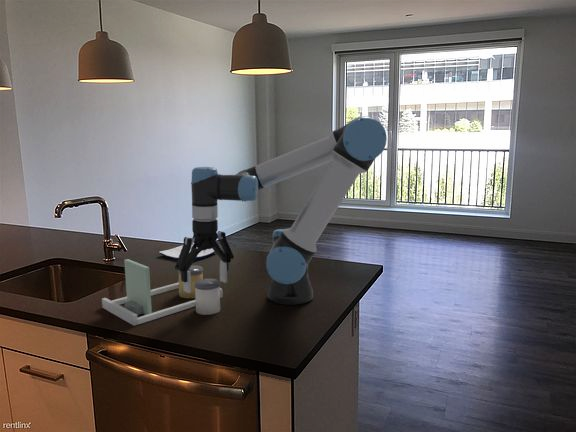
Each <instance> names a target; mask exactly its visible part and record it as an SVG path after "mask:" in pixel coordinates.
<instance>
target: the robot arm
mask: <svg viewBox="0 0 576 432" xmlns="http://www.w3.org/2000/svg"><path fill="white" fill-rule="evenodd" d="M387 138H388V137H387V131H386V129H385V127H384V125H383V123H381V122H380V121H379V120H378V119H376V118H374V117H372V116H368V115H367V116H366V115H364V116H358V117H355V118H354V119H352V120H350V121H349V122H348V123H346V124H344V125H343V126H340V127H339V128H337V129H335V130H332V131H331V132H330V134H329V135H328V136H326V137H324V138H321V139H318V140H317V141H314V142H311V143H308V144H305V145H303V146H301V147H299V148H297V149H294V150H291V151H289V152H287V153H283V154H281V155H279V156H276V157H274V158H272V159H269V160H267V161H264V162H262V163H259V164H257V165H255V166H253V167H252V166H251V167H250V168H247V169H243V170H240V171H238V172H237V173H236V174H219V173H218V169H217V168H216V167H213V166H212V167H211V166H199V167H194V168H193V169H192V170H191V182H190V184H191V215H192V216H191V217H192V221H191V222H192V223H191V225H192V227H191V228H192V233H193V236H192V237H187V236H185V237H184V238H183V244H182V245H183V247H182V250H181V252H180V255H179V258H178V260H177V261H176V264H175V266H174V270H176V271H178V270H179V271H181V280H182V282H183V285H184V291H185V292H187V293H191V272H190V271H188V270H189V268H190V267H191V265H193V263H194V262H195V261H196V260H195V259H196V257H197V255H198V254H199V253H200V252H201V251H202V250H206V249H213V250H214V251H215V253H216V255H217V256H218V257H219V258H220V259H221V260H220V261H219V281H220V283H224V284H226V283H228V272H229V263H231V261H232V260H234V258H235V256H234V253H233V252H232V250H231V247H230V245H229V242H228V240H227V236H226V232H225V231H220V230H219V231H218V228H219V225H218V224H219V223H218V216H219V213H218V211H219V210H218V209H219V208H218V201H237V202H238V201H239V202H252V201H253V202H254V201H256V200H257V198H258V194H259V190H262V189H264V188H266V187H270V186H272V185H275V184H277V183H280V182H283V181H285V180H287V179H291V178H293V177H295V176H298V175H300V174H302V173H305V172H308V171H310V170H313V169H317V168H319V167H321V166H324V165H325V164H329V165H328V167H327V169H326V170H325V171H324V173H323V175H322V177H321V178H320V180H319V181H318V183H317V184H316V186H315V188H314V189H313V191H312V193H311V194H310V195H309V198H308V199H307V201H306V202H305V204H304V206H303V207H302V209H300V212H299V214H297V217H296V219H295V220H294V222H293V223H292V225H291V227H289V228H280V229H279V228H278V229H275V230H274V231H273V232H272V236H271V239H272V247H271V249H270V251H269V253H268V254H267V255H266V258H265V265H266V266H265V267H266V271H267V274H268V275H269V276H270V278H271V280H270V283H269V287H268V289H267V298H268V300H270V301H271V302H273V303H274V304H278V305H279V304H280V305H285V306H286V305H287V306H290V305H291V306H294V305H302V304H306V303H308V302H310V301H312V300H313V299H314V289H313V287H312V284H311V280H310V277H309V263H310V262H311V260H312V259H313V257H314V256H315V254H316V252H317V249H318V248H317V241H318V240H319V238H320V237H321V235H322V233H323V232H324V230H325V229H326V227H327V225H328V224H329V223H330V221H331V219H332V218H333V216H334V215H335V213H336V211H337V209H338V208H339V206H340V205H341V203H342V202H343V200H345V199H344V198H345V197H346V196H347V194H348V192H349V191H350V189H351V187H352V186H353V184H354V183H355V181H356V180H357V178H358V176H359V175H360V174H365V173H367V172H368V171H369V169H370V168H371V166H372V164H373V163H374V161H375V160H376V159H377V158H378V157H380V155H381V154H382V153H383V152H384V149H385V148H386V144H387V140H388V139H387ZM217 240H218V242H219V244H218V242H217ZM192 245H193V246H192ZM191 246H192V248H191ZM220 246H221V247H220ZM190 249H191V251H190ZM189 252H190V253H189Z"/></svg>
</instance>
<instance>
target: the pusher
mask: <svg viewBox="0 0 576 432" xmlns="http://www.w3.org/2000/svg"><path fill="white" fill-rule="evenodd" d="M123 262H124V274H125V275H124V277H125V290H126V291H125V292H126V297H127V302H124V308H126V309H128V310H129V311H131V312H133V313H135V314H137V316H139V315H142V314H144V315H147V314H151V313H153V311H152V310H153V309H152V296H151V290H152V289H151V276H150V275H151V272H150V267H149V266H147V265H144V264H142V263H139V262H137V261H134V260H131V259H129V258H127V259H124V261H123Z"/></svg>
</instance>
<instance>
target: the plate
mask: <svg viewBox="0 0 576 432" xmlns="http://www.w3.org/2000/svg"><path fill="white" fill-rule="evenodd" d="M192 246H193V245H192ZM192 246H191V248H192ZM182 247H183V244H182V245H180V246H177V247H173V248H170V249H167V250H166V249H165V250H162V251H159V252H158V253H159V254H160V255H161V256H164V257H166V258H170V259H173V260H178V258H179V255H180V252H181V250H182ZM190 251H191V249H190ZM189 253H190V252H189ZM215 253H216V252H215V251H214V250H213V249H206V250H202V251H201V252H200V253H199V254H198V255H197V257H196V259H195V260H194V261H196V260H200V259H204V258H206V257H209V256H211V255H213V254H215Z"/></svg>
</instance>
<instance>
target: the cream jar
mask: <svg viewBox="0 0 576 432" xmlns="http://www.w3.org/2000/svg"><path fill="white" fill-rule="evenodd" d="M220 285H221V281H220V279H216V278H203V279H201V280H198V281H196V282H195V298H194V300H196V306H195V312H196V313H197V314H199V315H204V316H206V315H207V316H209V315H215V314H217V313H220V311H221V298H220V288H221V286H220Z"/></svg>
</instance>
